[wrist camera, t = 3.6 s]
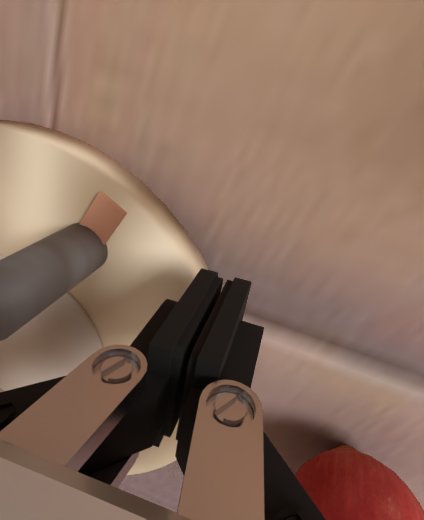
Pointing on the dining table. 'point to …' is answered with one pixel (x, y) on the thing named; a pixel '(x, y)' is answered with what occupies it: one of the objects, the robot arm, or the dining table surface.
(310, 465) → the onion
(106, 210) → the turntable
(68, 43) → the dining table surface
